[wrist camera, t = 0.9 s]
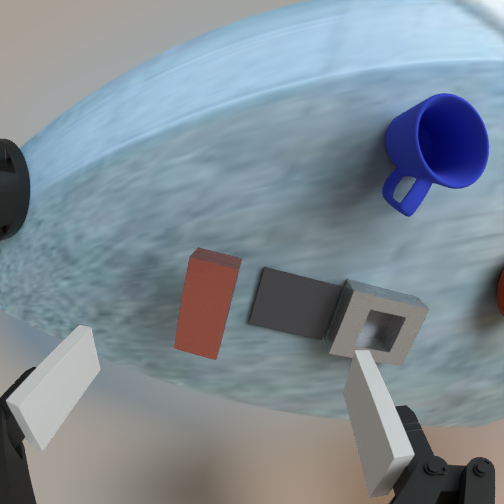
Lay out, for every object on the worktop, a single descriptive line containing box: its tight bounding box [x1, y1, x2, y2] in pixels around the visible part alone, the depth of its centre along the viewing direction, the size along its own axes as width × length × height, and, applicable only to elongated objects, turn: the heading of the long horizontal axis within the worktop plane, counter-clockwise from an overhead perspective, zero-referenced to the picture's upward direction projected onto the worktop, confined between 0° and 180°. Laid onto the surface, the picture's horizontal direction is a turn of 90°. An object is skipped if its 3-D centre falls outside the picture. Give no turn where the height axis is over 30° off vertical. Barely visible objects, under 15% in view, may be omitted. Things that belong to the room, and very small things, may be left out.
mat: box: [249, 267, 341, 340], centre depth 36 cm, size 9×7×1 cm
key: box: [174, 247, 242, 360], centre depth 31 cm, size 4×9×10 cm, turn 166°
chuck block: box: [325, 279, 429, 366], centre depth 35 cm, size 10×8×4 cm
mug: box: [382, 93, 489, 217], centre depth 26 cm, size 8×12×10 cm
